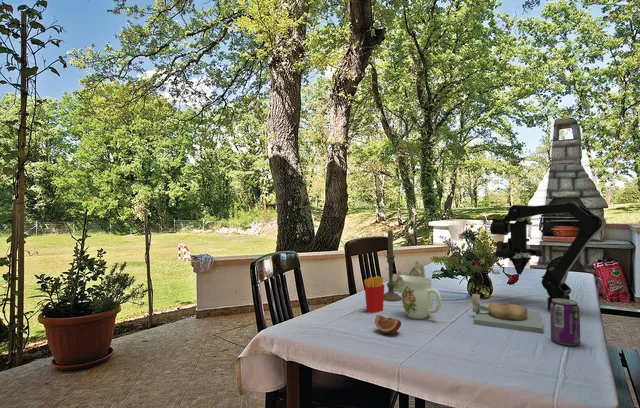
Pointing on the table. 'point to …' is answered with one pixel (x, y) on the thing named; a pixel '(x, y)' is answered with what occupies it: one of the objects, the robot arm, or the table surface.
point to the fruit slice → (387, 324)
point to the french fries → (374, 294)
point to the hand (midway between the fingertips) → (519, 274)
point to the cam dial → (500, 309)
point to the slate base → (511, 321)
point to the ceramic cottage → (414, 272)
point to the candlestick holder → (390, 259)
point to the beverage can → (565, 321)
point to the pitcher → (418, 297)
